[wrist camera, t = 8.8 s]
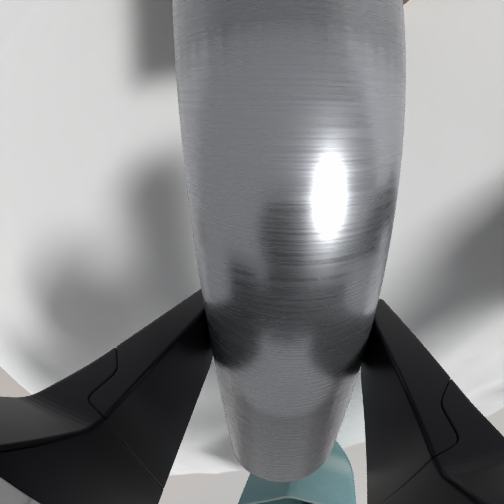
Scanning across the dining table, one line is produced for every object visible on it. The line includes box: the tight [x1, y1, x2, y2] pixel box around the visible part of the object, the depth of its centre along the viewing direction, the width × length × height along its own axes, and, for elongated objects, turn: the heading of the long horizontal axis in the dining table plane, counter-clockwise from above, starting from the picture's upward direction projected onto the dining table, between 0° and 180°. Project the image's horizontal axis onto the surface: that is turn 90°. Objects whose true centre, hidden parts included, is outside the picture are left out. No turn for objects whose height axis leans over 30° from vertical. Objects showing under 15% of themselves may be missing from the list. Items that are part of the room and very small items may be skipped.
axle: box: [172, 0, 406, 482], centre depth 8 cm, size 4×14×4 cm, turn 2°
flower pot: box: [238, 441, 356, 504], centre depth 27 cm, size 9×9×9 cm
